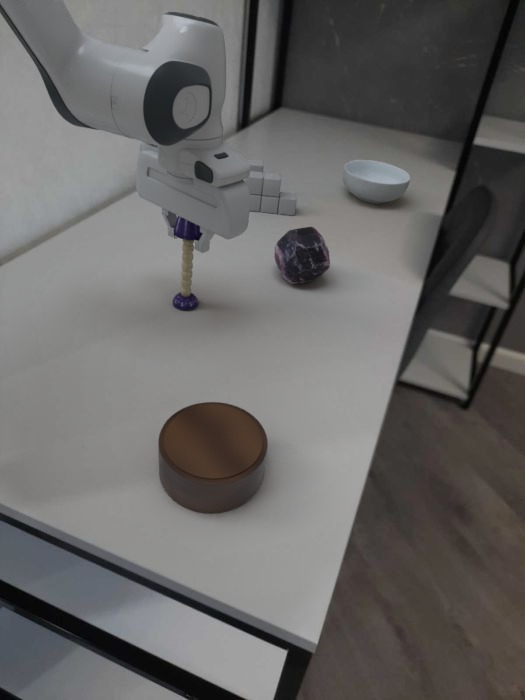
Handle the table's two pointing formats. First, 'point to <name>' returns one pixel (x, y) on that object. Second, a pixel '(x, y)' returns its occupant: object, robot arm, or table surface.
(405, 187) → the cereal bowl
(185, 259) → the toy lamp
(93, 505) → the table surface
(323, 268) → the mineral specimen
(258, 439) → the wooden drum
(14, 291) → the table surface
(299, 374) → the table surface
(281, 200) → the grey stepped block
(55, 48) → the robot arm
